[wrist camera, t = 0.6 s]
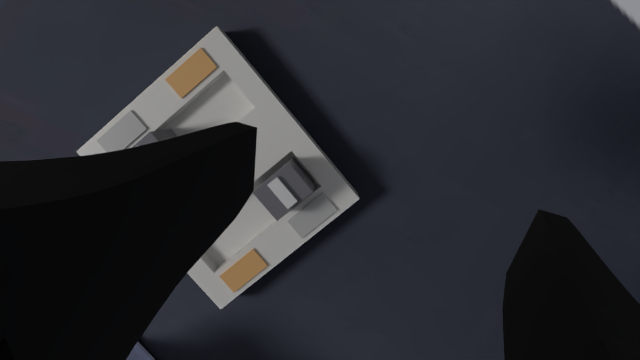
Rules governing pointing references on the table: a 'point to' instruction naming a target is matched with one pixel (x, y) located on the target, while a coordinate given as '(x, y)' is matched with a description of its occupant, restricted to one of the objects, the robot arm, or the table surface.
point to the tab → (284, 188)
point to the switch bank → (271, 153)
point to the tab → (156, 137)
